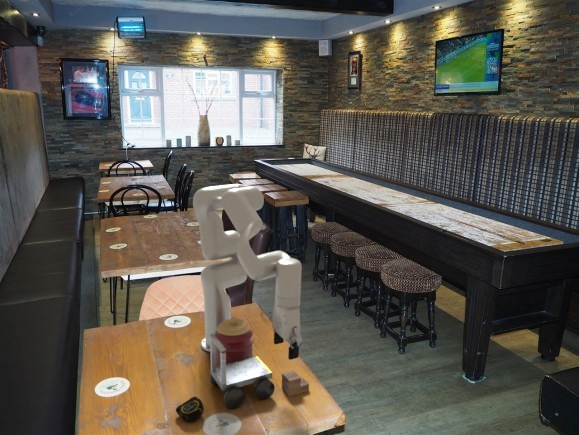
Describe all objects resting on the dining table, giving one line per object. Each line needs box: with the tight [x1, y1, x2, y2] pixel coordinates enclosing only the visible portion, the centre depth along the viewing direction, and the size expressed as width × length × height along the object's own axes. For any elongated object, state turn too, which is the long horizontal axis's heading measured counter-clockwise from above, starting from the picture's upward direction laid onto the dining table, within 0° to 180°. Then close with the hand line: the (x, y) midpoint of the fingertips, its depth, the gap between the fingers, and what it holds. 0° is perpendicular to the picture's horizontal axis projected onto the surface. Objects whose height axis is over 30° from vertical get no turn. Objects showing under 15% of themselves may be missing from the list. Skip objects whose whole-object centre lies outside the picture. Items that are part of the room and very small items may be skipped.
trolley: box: [208, 334, 275, 410], centre depth 148 cm, size 14×16×19 cm
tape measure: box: [175, 396, 205, 423], centre depth 137 cm, size 7×7×4 cm
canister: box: [215, 316, 254, 367], centre depth 164 cm, size 13×13×18 cm
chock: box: [281, 369, 310, 397], centre depth 151 cm, size 5×7×6 cm
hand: (285, 350), depth 148 cm, fingers open, 9 cm apart
